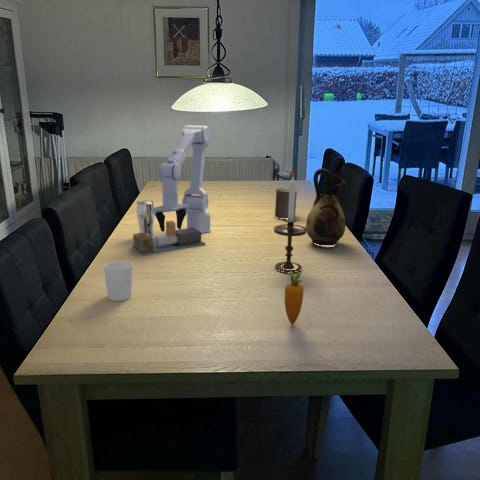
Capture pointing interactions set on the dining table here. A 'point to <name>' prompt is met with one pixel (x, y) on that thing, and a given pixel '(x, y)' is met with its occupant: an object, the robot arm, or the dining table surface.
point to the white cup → (118, 280)
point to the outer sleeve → (185, 239)
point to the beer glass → (145, 217)
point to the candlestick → (290, 230)
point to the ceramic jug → (326, 212)
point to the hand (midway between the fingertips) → (170, 229)
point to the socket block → (143, 242)
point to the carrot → (293, 298)
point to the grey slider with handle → (167, 235)
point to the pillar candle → (283, 202)
